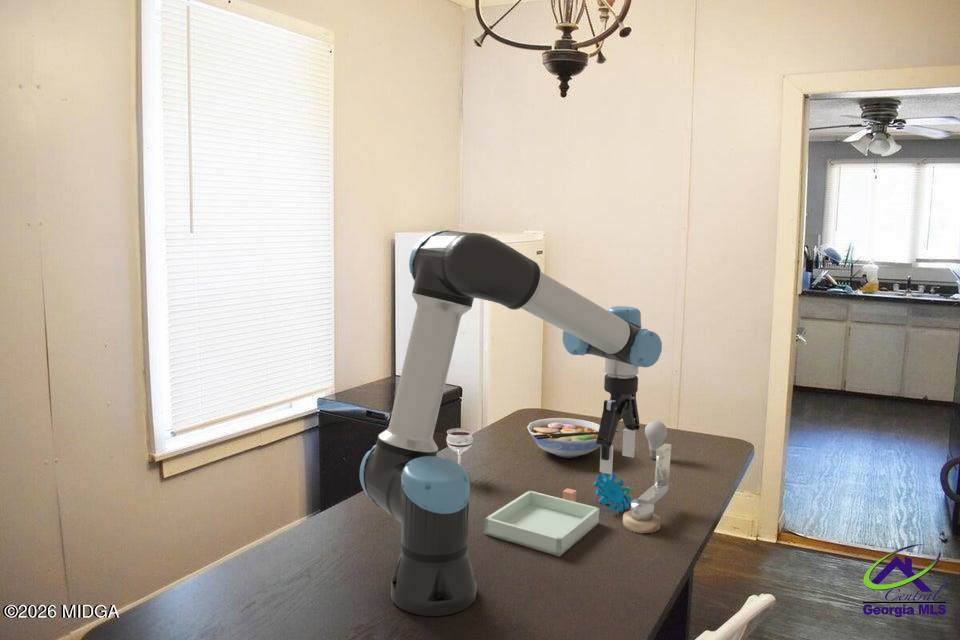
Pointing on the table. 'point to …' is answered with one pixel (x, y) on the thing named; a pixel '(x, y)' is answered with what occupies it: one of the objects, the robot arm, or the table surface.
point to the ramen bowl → (565, 436)
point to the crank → (653, 487)
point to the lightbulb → (655, 436)
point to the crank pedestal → (641, 524)
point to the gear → (612, 492)
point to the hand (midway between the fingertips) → (617, 464)
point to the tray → (542, 522)
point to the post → (569, 495)
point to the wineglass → (459, 440)
